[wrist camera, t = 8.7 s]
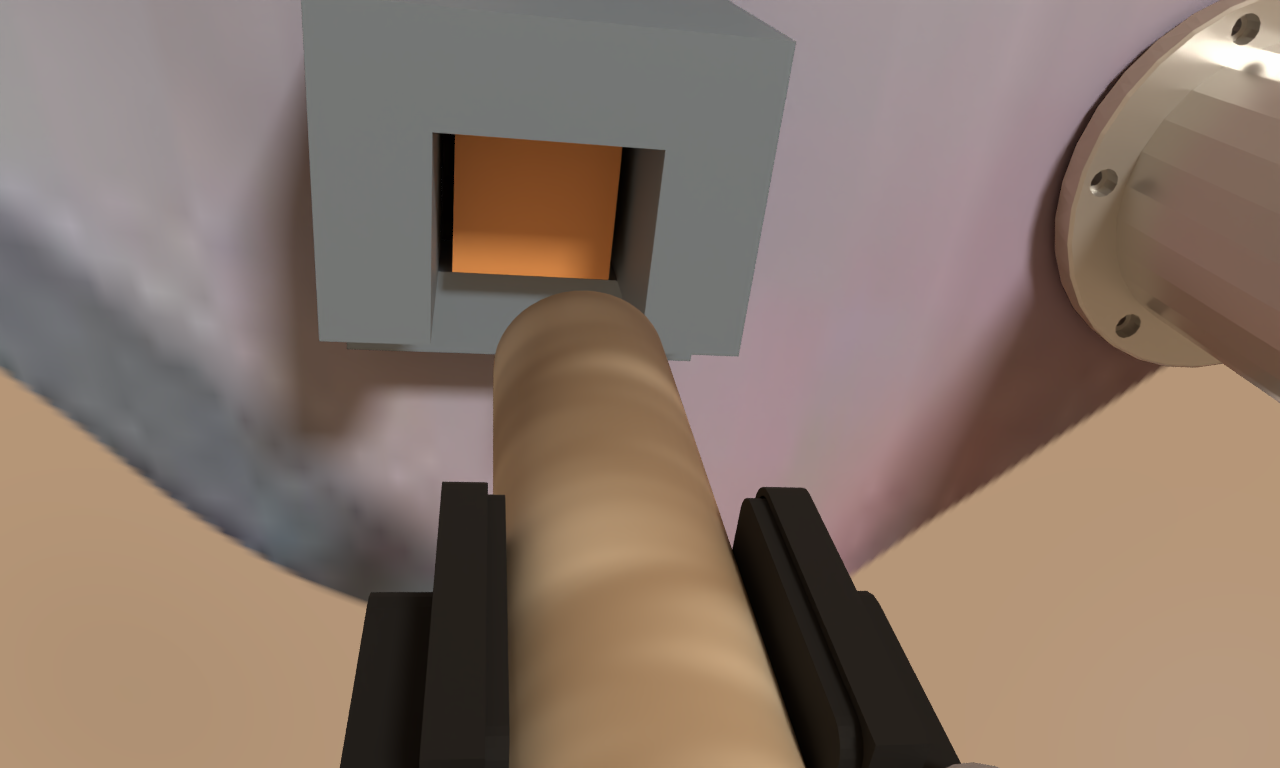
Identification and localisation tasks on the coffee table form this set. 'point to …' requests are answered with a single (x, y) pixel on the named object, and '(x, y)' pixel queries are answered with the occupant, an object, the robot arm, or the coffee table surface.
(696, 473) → the stylus
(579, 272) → the button
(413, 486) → the coffee table surface
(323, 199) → the switch box
